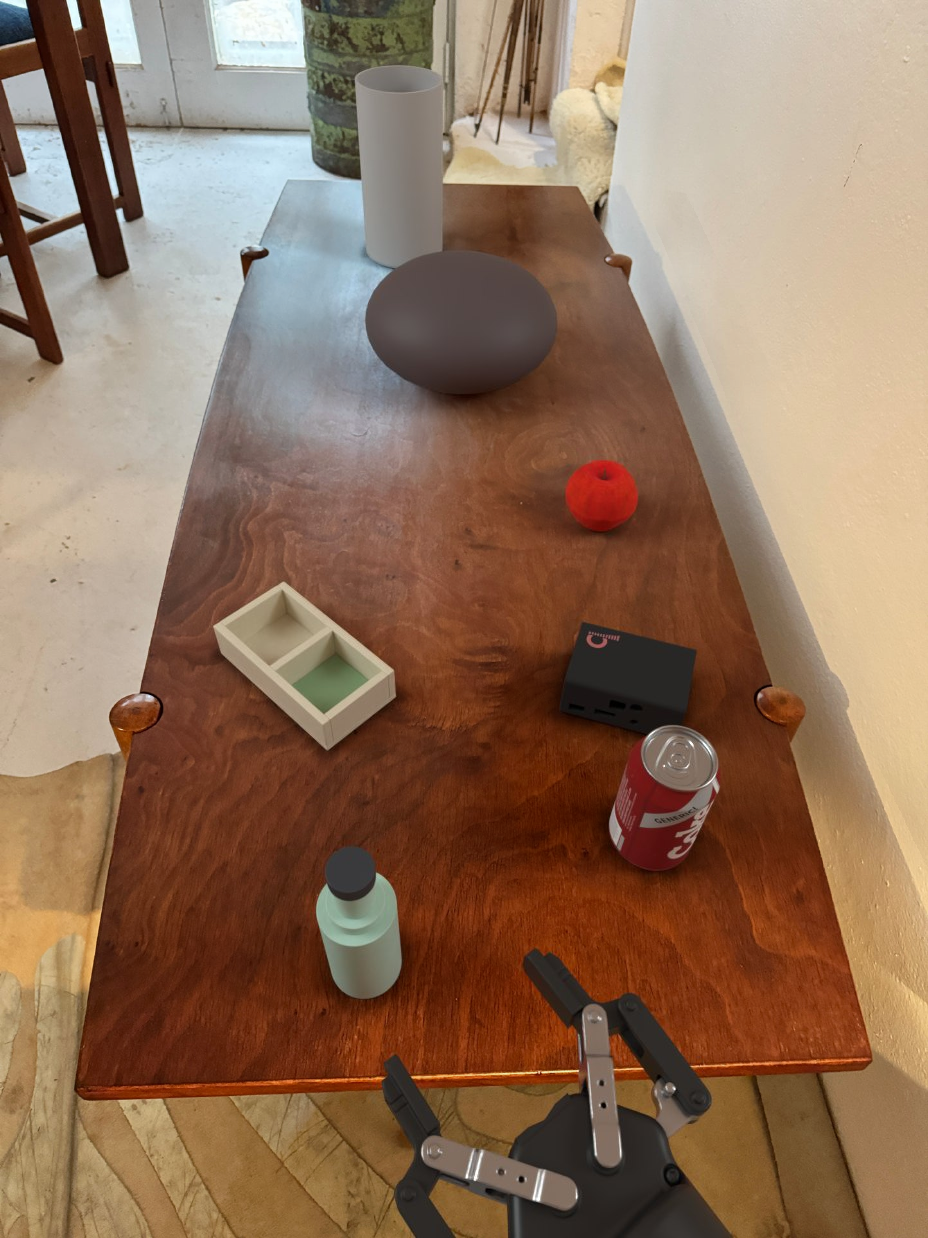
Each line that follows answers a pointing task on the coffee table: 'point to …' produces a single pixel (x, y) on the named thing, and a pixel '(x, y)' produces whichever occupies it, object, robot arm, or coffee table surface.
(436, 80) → the cylinder vase
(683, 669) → the electronic device
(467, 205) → the coffee table surface
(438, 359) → the flattened ellipsoid
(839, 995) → the coffee table surface
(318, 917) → the bottle
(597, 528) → the apple
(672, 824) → the soda can
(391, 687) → the cream rectangular tray
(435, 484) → the coffee table surface
